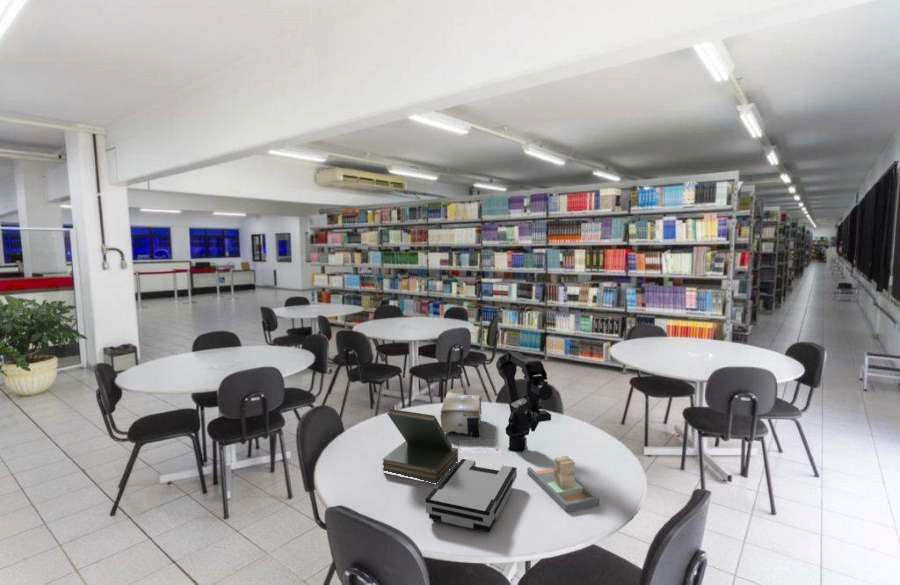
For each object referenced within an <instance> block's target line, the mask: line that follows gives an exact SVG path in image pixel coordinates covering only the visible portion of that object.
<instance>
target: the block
mask: <svg viewBox="0 0 900 585" xmlns="http://www.w3.org/2000/svg"><path fill="white" fill-rule="evenodd" d="M553 458H554V459H553V460H554V461H553V462H554V463H553V468H554V483H555V484H556V485H557V486H558V487H559V488H560V489H561V490H562V489H567V488H573V487H574V478H576V477H575V475H576V472H575V468H576V467H575V464H576V462H575V461H574V460H572V458H570V457H569V456H567V455H564V456H559V457H553Z"/></svg>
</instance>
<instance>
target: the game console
mask: <svg viewBox="0 0 900 585" xmlns="http://www.w3.org/2000/svg"><path fill="white" fill-rule="evenodd" d="M517 470H518V469H517V467H515V466H507V465H502V466H501V467H500V469H499V470H498V469H493V468H487V467H481V466H476V460H473V459H472V460H471V459H465V458H461V460H460V461H458V463H456V465H455V466H454V467H453V468H452V469H451V472H449V474H448V475H447V476H446V477H445V479H444V480H443V481H442V483H440V484H439V486H438V487H437V488H433V489H432V490H431V492H430V493H429V494H428V495H427V496H426V498H425V513H426V514H428V519H430V520H432V519H435V520H434V521H437V520H439V521H438V522H441V521H442V523H446V524H451V525H456V526H459V527H463V528H469V529H472V528H473V530H476V529H477V531H482V532H485V533H491V530H492V528H494V525H495V523H496V521H497V520H498V518H499V516H500V514H501V512H502V510H503V508H504V506H505V504H506V502H507V500H508V499H509V497H510V495H511V493H512V487H513V484H514V483H515V481H516V479H517V477H518V474H517V473H518V472H517Z"/></svg>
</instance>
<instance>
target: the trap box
mask: <svg viewBox="0 0 900 585" xmlns="http://www.w3.org/2000/svg"><path fill="white" fill-rule="evenodd" d="M526 474H527V475H528V476H529V478H531V480H532V481H534V482H535V483H536V485H538V487H540V488H541V489H542V490H543V491H544V492H545V493H546V494H547V495H548V496H549V497H550V498H551V499H552V500H553V501H554V502H555V503H556V504H557V506H559V507H560V508H561V509H562V510H563V511H564V513H569V512H570V513H571V512H574V511H579V510H585V509H588V508H589V509H590V508H593V507H598V506H600V498H599V496H597V495H596V494H595V493H593V492H592V491H591V490H590V489H589V488H587V487H586V486H585V485H584V484H583V483H582V482H580V481H579V480H578V479H577V478H576V477H575V478H574V487H573V488H567V489H562V490H561V489H560V488H559V487H558V486H557V485H556V484H555V483H554V467H553V468H548V469H543V470H538V471H535V470H534V469H533V467H531V466H530V467H527V472H526Z"/></svg>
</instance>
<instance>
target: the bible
mask: <svg viewBox="0 0 900 585" xmlns="http://www.w3.org/2000/svg"><path fill="white" fill-rule="evenodd" d="M386 414H387V416H388V417H389V419H390V420H391V422H392V423H393V424H394V426H395V427H396V428H397V430H398V432H399V434H400V435H401V436H402V438H404V440H405V441H403V442H402V443H401V444H400V445H399V446H397V447H396V448H395V449H393V450H391V451H390V452H389V453H388V454H386V455H385V456H384V457H383V458H382V465H383V468H382V471H383V472H384V471H388V472H392V473H396V474H401V475H404V476H408V477H413V478H417V479H420V480H424V481H428V482H431V483H437V482H438V481H439V480H440V479H441V478H442V477H443V476H444V475H445V474H446V473H447V472H448V471H449V469H451V468H452V467H453V466H454V467H455V466H456V465H457V463H456V462H458V463H459V448H455V447H453V445H452V444H451V442H450V440H449V438H448V437H447V434H446V433H445V432H444V431H443V429H442V428H441V423H439V421H438V419H437V418H436V416H435V415H434V414H433V415H432V414H427V413H420V412H414V411H413V412H412V411H406V410H399V409H392V408H389V409H388V412H387V413H386ZM454 467H453V468H454ZM453 468H452V469H453ZM452 469H451V470H452ZM449 472H450V471H449ZM449 472H448V473H449ZM448 473H447V474H448ZM447 474H446V475H447ZM446 475H445V476H446ZM445 476H444V477H445ZM444 477H443V478H444ZM443 478H442V479H443ZM442 479H441V480H442ZM441 480H440V481H441ZM440 481H439V482H440Z"/></svg>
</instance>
